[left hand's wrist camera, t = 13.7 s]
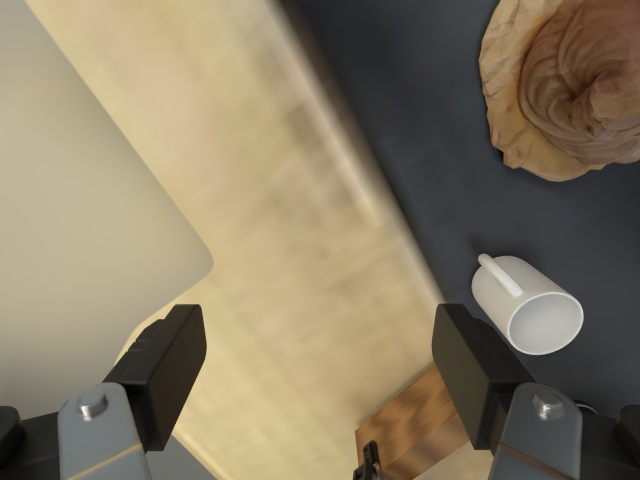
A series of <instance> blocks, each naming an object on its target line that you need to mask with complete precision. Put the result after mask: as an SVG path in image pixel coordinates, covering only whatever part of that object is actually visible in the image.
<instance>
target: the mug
mask: <svg viewBox="0 0 640 480" xmlns="http://www.w3.org/2000/svg"><path fill="white" fill-rule="evenodd" d="M478 261H479V263H480V264H481V265H482V266H481V267H480V268H479V269H478V270H477V271H476V273H475V275H474V277H473V280H472V293H473V295H474V298H475V299H476V301H477V302H478V304H479V305H480V306H481V307H482V309H483V310H484V311H485V312H486V314H487V315H488V316H489V317H490V319H491V320H492V321H493V322H494V323H495V325H496V326H497V327H498V328H499V330H500V331H501V332H502V333H503V335H504V336H505V337H506V338H507V339H508V341H509V342H510V343H511V344H512V345H513V346H514V347H515V348H516V349H517V350H519V351H521V352H523V353H526V354H532V355H542V354H547V353H551V352H554V351H557V350H559V349H561V348H562V347H564V346H566V345H567V344H568V343H569V342H571V341H572V340H573V339H574V338H575V336H576V335H577V334H578V332H579V331H580V329H581V326H582V323H583V310H582V307H581V305H580V303H579V302H578V301H577V300H576V299H575V298H574V297H573V296H571V295H570V294H569V293H567V292H566V291H565V290H563V289H562V288H560V287H559V286H558V285H556V284H555V283H554V282H552V281H551V280H550V279H548V278H547V277H546V276H544V275H543V274H542V273H540V272H539V271H538V270H536V269H535V268H534V267H532V266H531V265H530V264H528V263H527V262H525V261H523V260H522V259H519V258H517V257H513V256H500V257H496V258H493V259H492V258H491V257H490V256H489V255H487V254H481V255H479V257H478Z"/></svg>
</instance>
